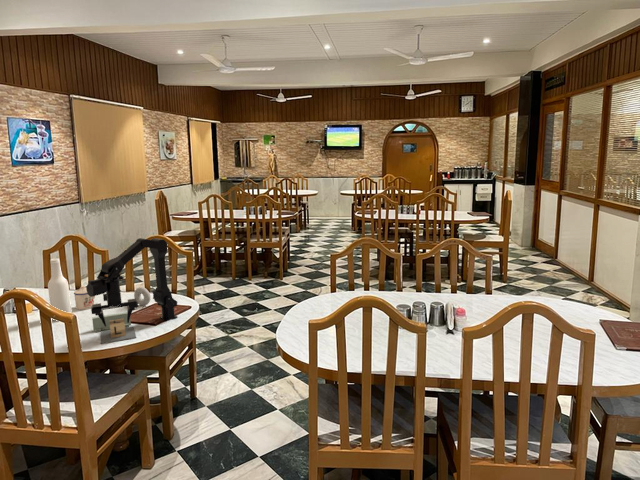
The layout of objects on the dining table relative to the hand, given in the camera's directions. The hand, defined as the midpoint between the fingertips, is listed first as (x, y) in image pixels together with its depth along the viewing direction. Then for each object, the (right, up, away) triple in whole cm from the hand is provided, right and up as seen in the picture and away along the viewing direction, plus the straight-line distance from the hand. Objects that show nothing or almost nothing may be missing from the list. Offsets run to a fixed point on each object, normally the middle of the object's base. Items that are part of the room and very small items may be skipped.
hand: (116, 324), depth 212 cm
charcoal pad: (0, -5, +1) cm, 5 cm away
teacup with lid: (-33, +2, +42) cm, 54 cm away
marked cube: (0, -5, +1) cm, 5 cm away
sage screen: (-7, -3, +11) cm, 13 cm away
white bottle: (-38, -1, +25) cm, 45 cm away
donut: (-4, +3, +42) cm, 42 cm away
